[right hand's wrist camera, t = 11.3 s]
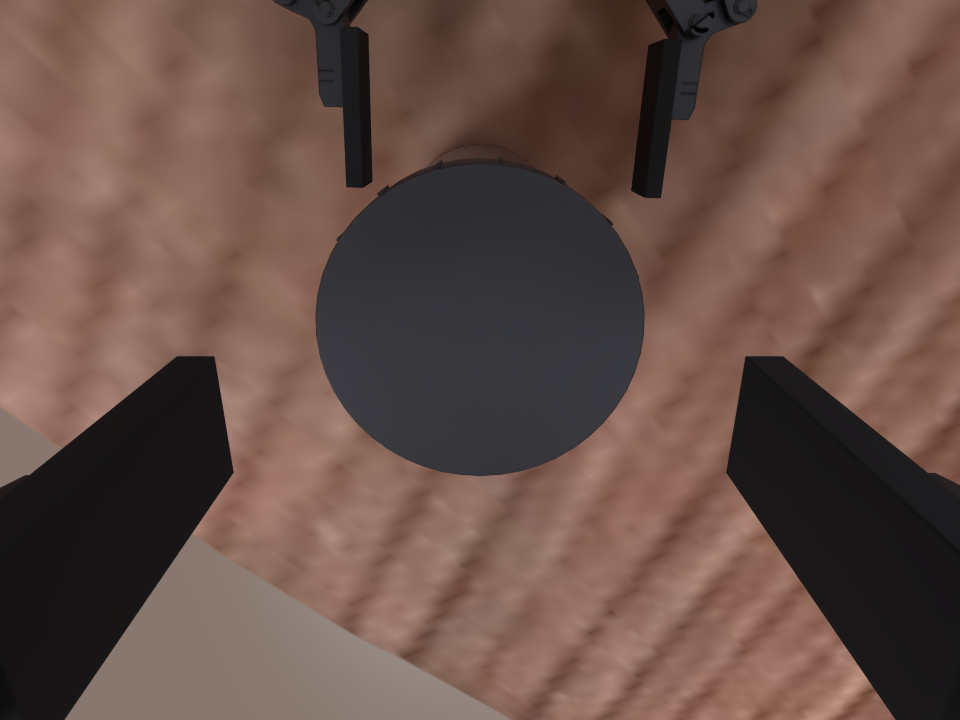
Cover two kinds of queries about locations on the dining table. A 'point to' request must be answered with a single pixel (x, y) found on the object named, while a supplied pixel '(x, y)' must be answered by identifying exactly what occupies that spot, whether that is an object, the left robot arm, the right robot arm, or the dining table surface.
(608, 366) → the lid
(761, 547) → the dining table surface
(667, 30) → the left robot arm
